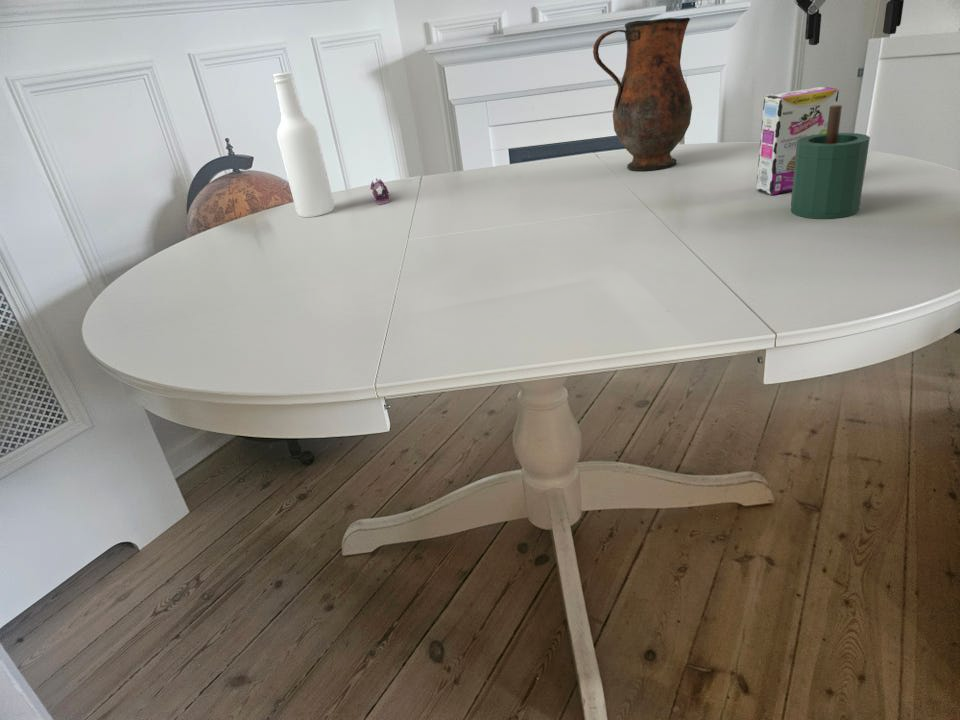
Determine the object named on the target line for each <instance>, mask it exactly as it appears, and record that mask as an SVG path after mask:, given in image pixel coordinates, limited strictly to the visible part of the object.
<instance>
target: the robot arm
mask: <svg viewBox="0 0 960 720" xmlns="http://www.w3.org/2000/svg"><path fill="white" fill-rule="evenodd" d="M793 1H794V4H795V5H797V7H799V8H800V9H801V11H803V12H804V13H805V15H806V18H805V19H806V22H805V31H804V33H805V34H804V38H805V39H804V40H806V41H808V45H810V46H817V45H818V44H819V43H820V38H821V35H820V34H821V25H822V24H821V23H822V13H821V12H820V8H821V7H822V6H823V5H824V3H825V2H826V1H827V0H793ZM904 3H905V0H889V1H887V3H885V4H886V5H885V11H884V12H885V13H884V20H883V27H882V33H883V34H884V35H894V34H896V33H897V27H900V26H901V23H902V17H903V10H904Z"/></svg>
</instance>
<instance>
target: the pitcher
mask: <svg viewBox="0 0 960 720" xmlns="http://www.w3.org/2000/svg"><path fill="white" fill-rule="evenodd" d="M690 21H691V18H689V17H667V18H658V19H651V20H650V19H648V20H634V21H628V22H626V23H625V24H624V27H625V29H613V30H609V31H605V32H603V33H601V34H600V35H599V37H598V38H596V40H595V42H594V44H593V48H592V49H593V50H592V53H593V59H594V61H595V62H596V65H598V66H599V67H600V68H601V69H602V70H603V71H604V72H605V73H606V74H607V75H609V77H611V78H612V79H613V81H614V82H615V83H616V85H617V94H616V97H615V100H614V105H613V110H612V122H613V131H614V133H615V135H616V137H617V138H618V140H619V143H620V145H622V146H623V148H624V149H625V150H626V151H627V152H628V153H629V154H630V155H631V156H632V160H631V162H629V163H628V164H627V165H626V168H627V169H628V170H630V171H633V172H648V171H650V172H651V171H658V170H664V169H668V168H672V167H674V166H676V165H677V162H678V161H677V159H676V158H674V157H672V155H671V153H672V151H673V150H674V149H675V148H676V147H677V146H678V145H679V143H680V142H681V141H682V140H683V139H684V136H685V134H686V133H687V131H688V129H689V127H690V126H691V125H690V124H691V120H692V112H693V103H692V100H691V98H692V97H691V94H690V90H689V88H688V85H687V83H686V80H685V78H684V75H683V71H682V66H681V65H682V64H681V58H682V51H683V50H682V49H683V44H684V38H685V34H686V30H687V27H688V26H689V22H690ZM615 33H624V36H625V41H626V58H625V67H624V71H623V75H622V78H621V80H620V78H619V77H618V76H617V75H616V74H615V73H614V72H613V71H612V70H611V69H610V68H609V67H608V66H607V65H605V63H604V62H603V61H602V60H601V57H600V53H599V49H600V48H599V47H600V45H601V42H602V41H603V40H604V39H605V38H606V37H608V36H610V35H612V34H615Z"/></svg>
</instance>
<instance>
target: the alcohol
mask: <svg viewBox="0 0 960 720" xmlns="http://www.w3.org/2000/svg"><path fill="white" fill-rule="evenodd" d="M292 75H293V73H292V72H291V71H284V72H278V73H273V75H272V78H273V83H274V84H275V90H276V96H277V101H278V106H279V112H280V123H279V125H278V127H277V130H276V140H277V143H278V147H279V151H280V156H281V158H282V162H283V166H284V169H285V173H286V178H287V181H288V184H289V190H290V192H291V196H292V200H293V204H294V207H295V211H296V214H297V215H298V216H299V217H301V218H312V217H313V218H314V217H319V216H324V215H327V214H329V213H332V212H333V211H334V209H335V202H334V201H335V200H334V198H333V194H332V193H333V192H332V188H331V184H330V180H329V176H328V172H327V167H326V164H325V159H324V155H323V150H322V146H321V142H320V138H319V134H318V130H317V128H316V127H315V124H313V122H312V121H310V120H309V119H308V118H307V117H306V116H305V114H304V112H303V108H302V106H301V102H300V100H299V95H298V93H297V90H296V86H295V83H294V78H293V76H292Z"/></svg>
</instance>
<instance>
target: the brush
mask: <svg viewBox="0 0 960 720" xmlns="http://www.w3.org/2000/svg"><path fill="white" fill-rule="evenodd" d="M842 109H843V105H842V104H837V105H831V106H830V109H829V118H828V126H827V135H826V143H825V144H834V143H837V141H838V134H839V133H840V127H841V126H840V124H841V117H842V111H843V110H842Z"/></svg>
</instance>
